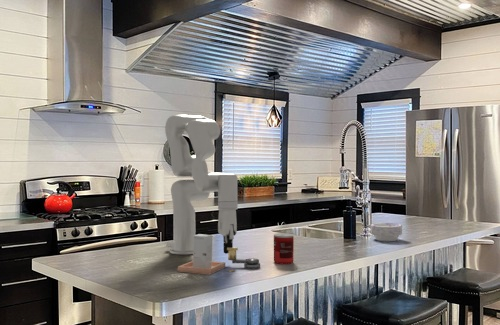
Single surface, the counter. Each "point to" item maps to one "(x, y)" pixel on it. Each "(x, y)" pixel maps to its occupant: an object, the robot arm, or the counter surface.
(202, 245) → the skincare box
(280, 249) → the canned food
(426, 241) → the counter surface
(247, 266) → the crank hub
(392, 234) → the paper bowls
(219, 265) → the tray
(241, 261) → the crank
